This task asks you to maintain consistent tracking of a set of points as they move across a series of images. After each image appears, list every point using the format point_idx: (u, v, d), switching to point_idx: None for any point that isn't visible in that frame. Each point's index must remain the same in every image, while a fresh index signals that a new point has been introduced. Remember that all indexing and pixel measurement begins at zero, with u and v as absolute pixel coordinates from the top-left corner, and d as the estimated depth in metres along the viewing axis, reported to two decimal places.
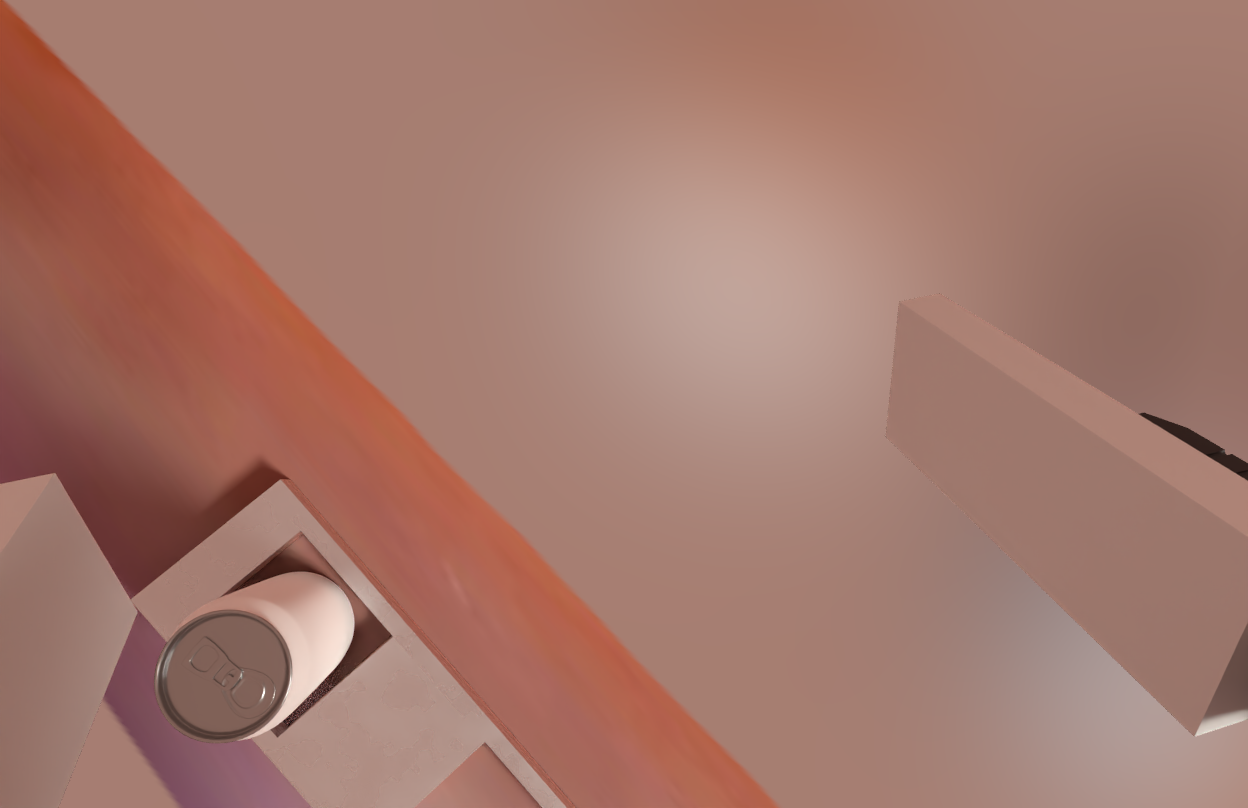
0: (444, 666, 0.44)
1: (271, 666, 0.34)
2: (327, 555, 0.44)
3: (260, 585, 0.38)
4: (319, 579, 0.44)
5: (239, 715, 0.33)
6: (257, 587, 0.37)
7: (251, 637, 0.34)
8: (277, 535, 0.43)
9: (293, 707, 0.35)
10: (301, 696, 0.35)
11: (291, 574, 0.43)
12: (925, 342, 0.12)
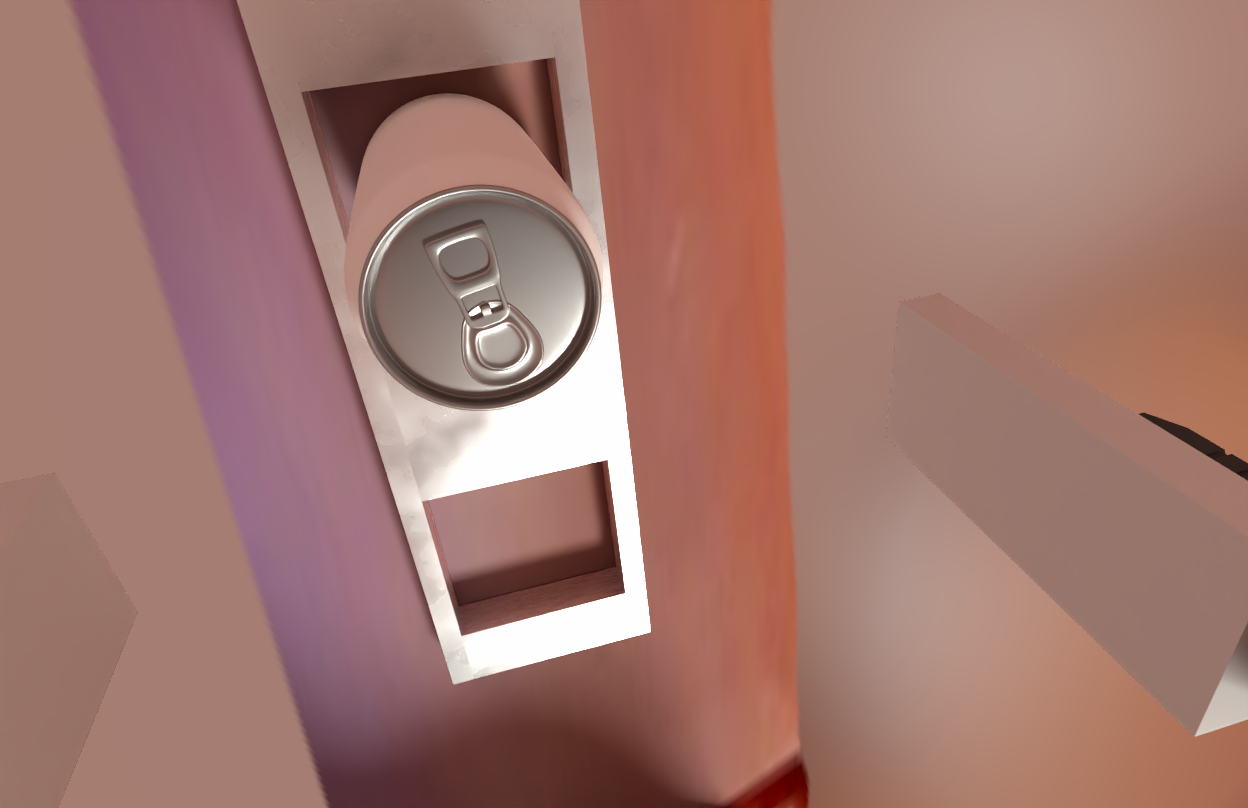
0: None
1: (554, 328, 0.19)
2: (569, 122, 0.26)
3: (524, 142, 0.21)
4: None
5: (468, 371, 0.19)
6: (532, 150, 0.20)
7: (551, 267, 0.18)
8: (519, 40, 0.24)
9: None
10: None
11: (508, 117, 0.25)
12: (925, 342, 0.12)
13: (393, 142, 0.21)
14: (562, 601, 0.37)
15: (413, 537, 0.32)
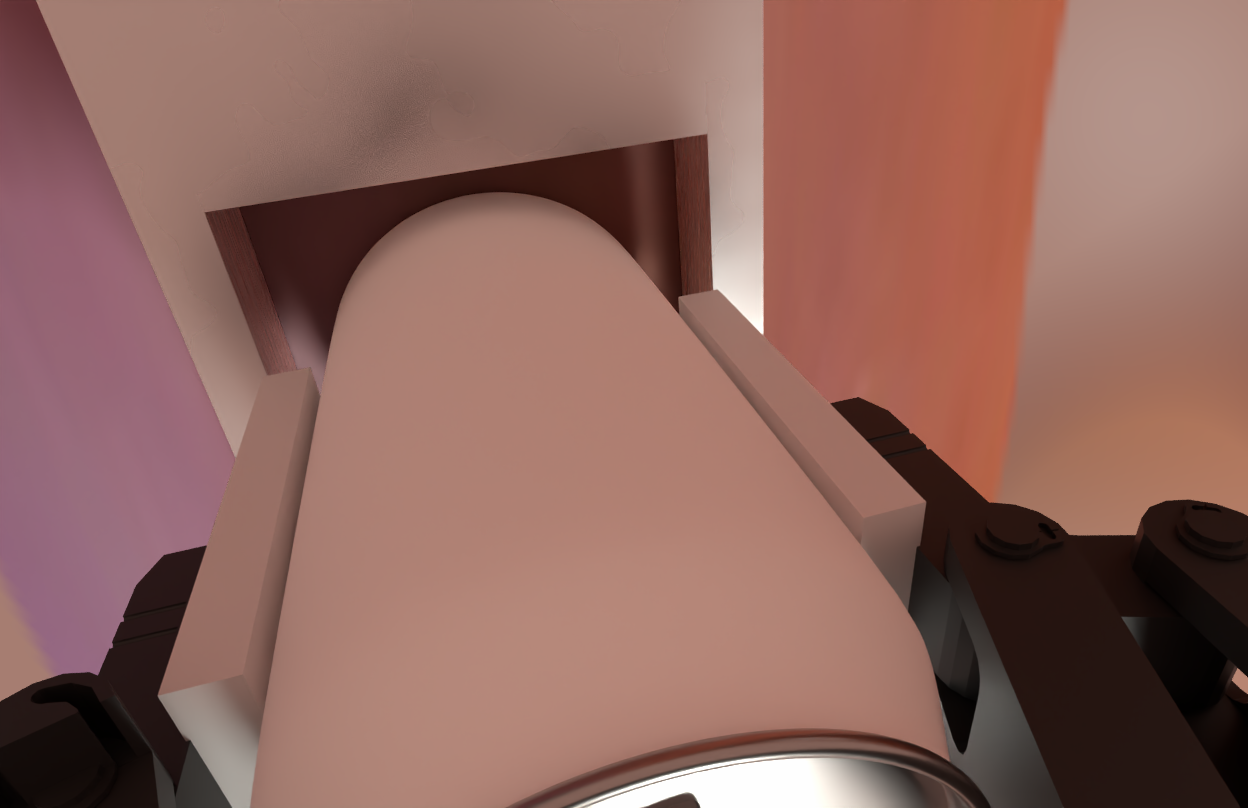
0: None
1: None
2: (721, 248, 0.14)
3: (699, 367, 0.09)
4: None
5: None
6: (732, 405, 0.08)
7: None
8: (642, 103, 0.12)
9: None
10: None
11: (613, 246, 0.13)
12: None
13: (393, 368, 0.09)
14: None
15: None
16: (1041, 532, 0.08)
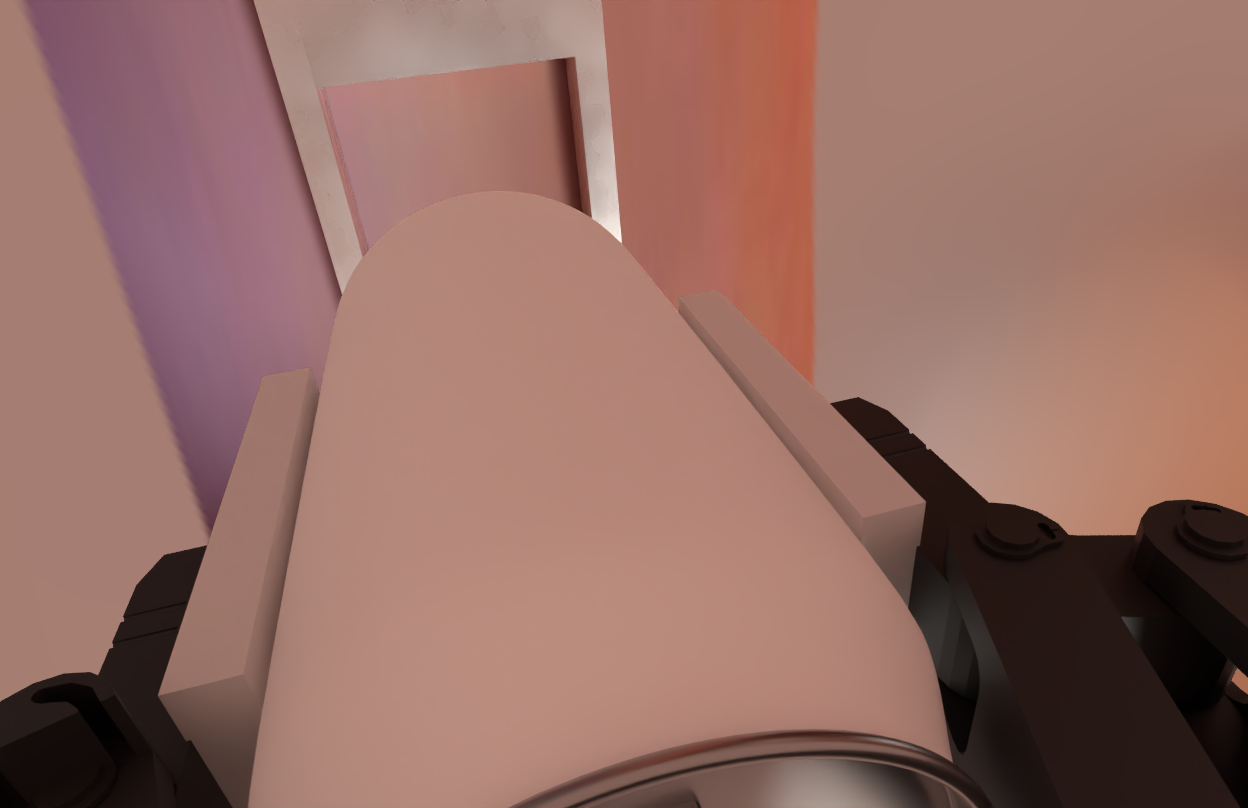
0: None
1: None
2: None
3: (700, 366, 0.09)
4: None
5: None
6: (733, 404, 0.08)
7: None
8: None
9: None
10: None
11: (614, 245, 0.13)
12: None
13: (392, 367, 0.09)
14: None
15: (307, 149, 0.24)
16: (1042, 532, 0.08)
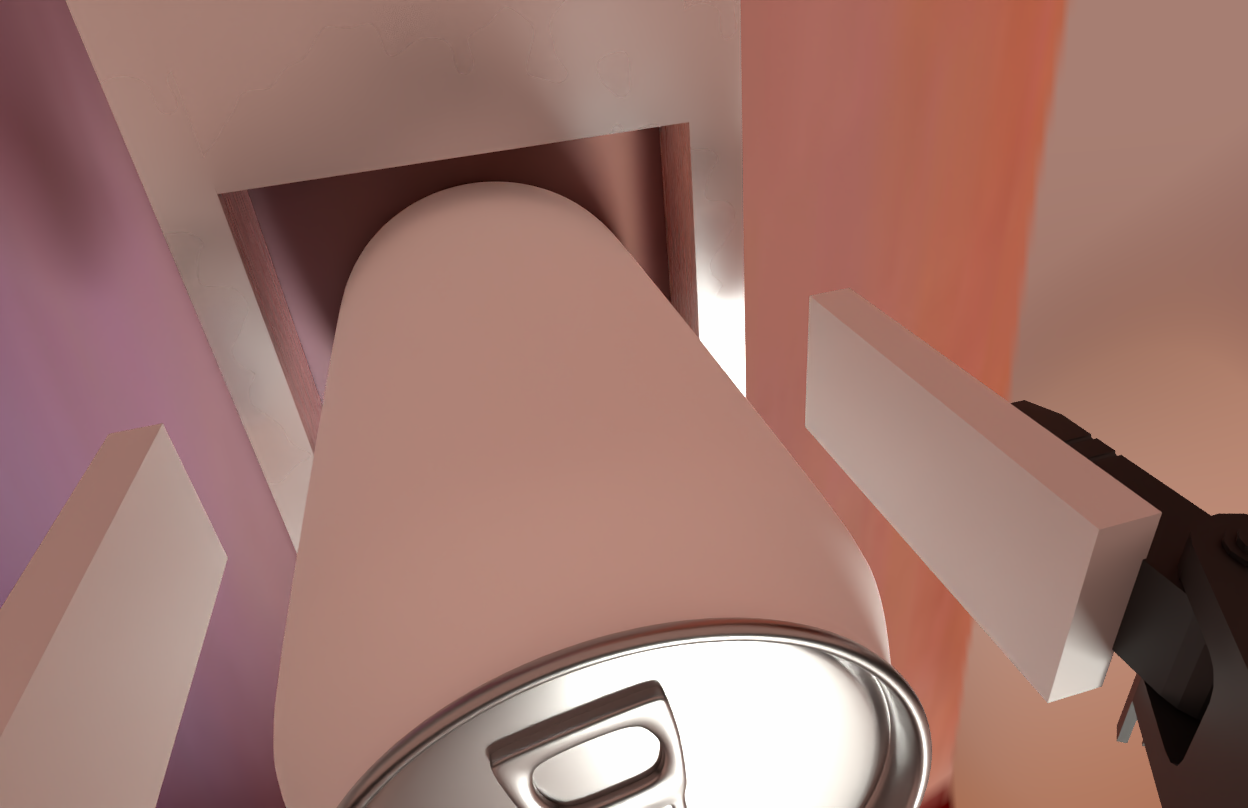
0: None
1: None
2: None
3: (677, 336, 0.10)
4: None
5: None
6: (705, 368, 0.09)
7: (811, 741, 0.07)
8: None
9: None
10: None
11: (603, 232, 0.14)
12: (831, 334, 0.13)
13: (398, 336, 0.10)
14: None
15: (208, 300, 0.13)
16: None
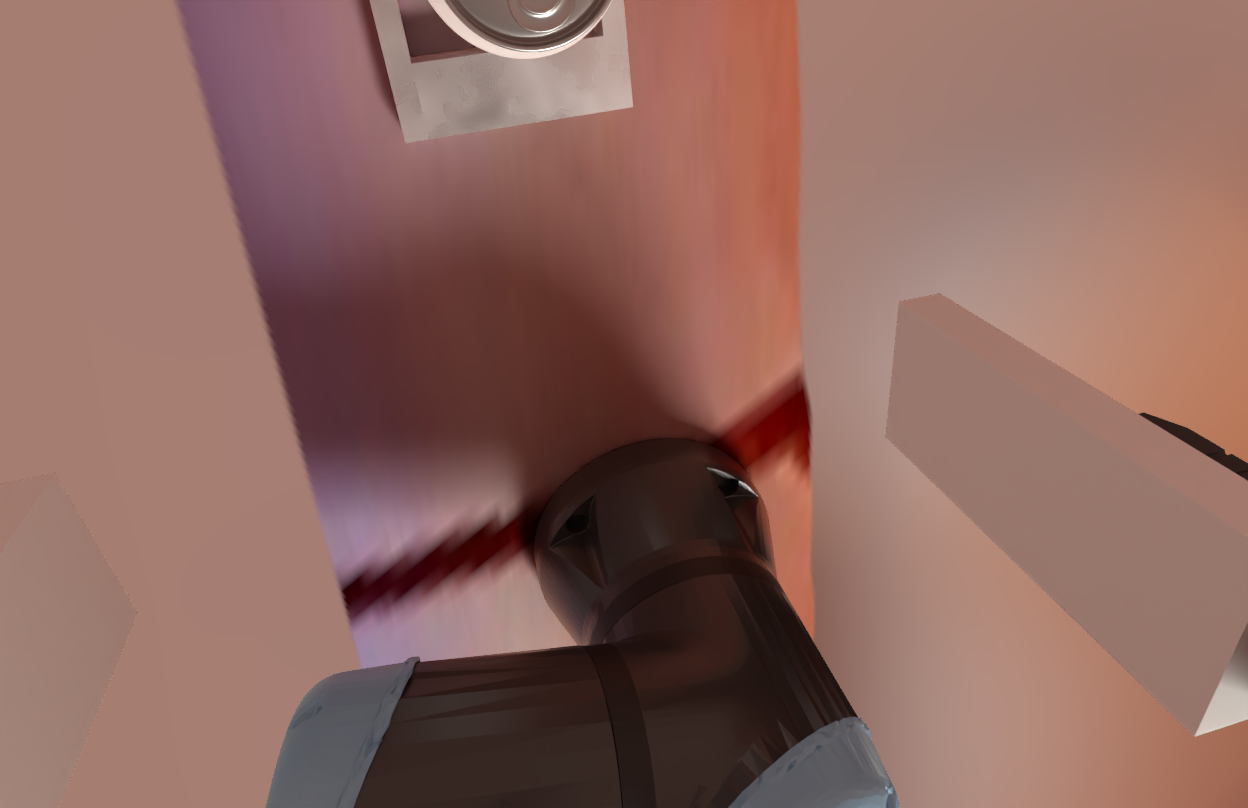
0: None
1: None
2: None
3: None
4: None
5: (512, 13, 0.22)
6: None
7: None
8: None
9: (560, 50, 0.24)
10: (574, 43, 0.24)
11: None
12: (925, 342, 0.12)
13: None
14: None
15: None
16: None
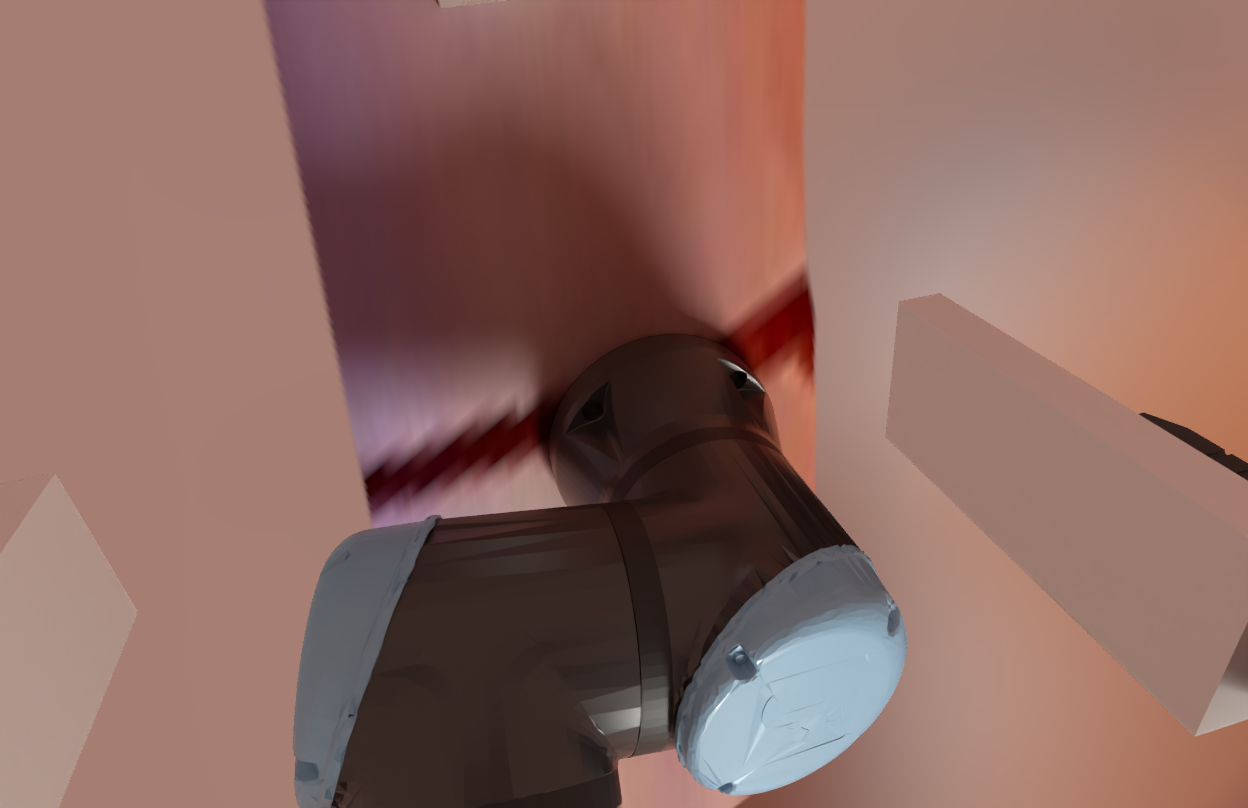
0: None
1: None
2: None
3: None
4: None
5: None
6: None
7: None
8: None
9: None
10: None
11: None
12: (925, 342, 0.12)
13: None
14: None
15: None
16: None
